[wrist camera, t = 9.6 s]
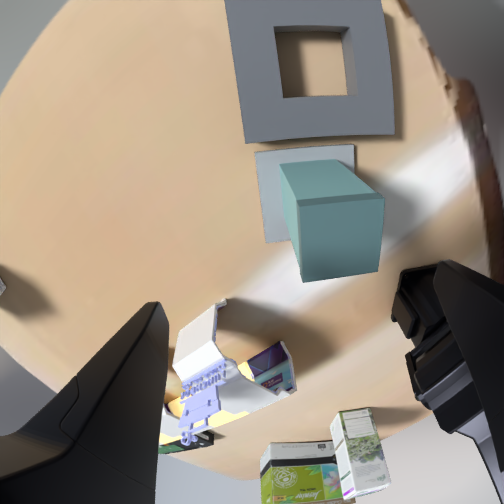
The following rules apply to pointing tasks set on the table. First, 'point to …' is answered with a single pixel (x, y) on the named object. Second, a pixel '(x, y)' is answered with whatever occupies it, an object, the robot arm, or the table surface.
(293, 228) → the plug
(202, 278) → the table surface
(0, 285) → the medicine box
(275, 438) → the table surface
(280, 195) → the pad
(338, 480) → the tea box
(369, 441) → the syrup box
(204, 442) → the disk drive
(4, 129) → the table surface
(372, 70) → the socket
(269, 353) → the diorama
